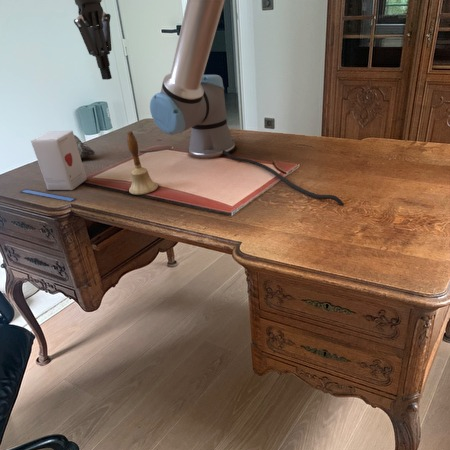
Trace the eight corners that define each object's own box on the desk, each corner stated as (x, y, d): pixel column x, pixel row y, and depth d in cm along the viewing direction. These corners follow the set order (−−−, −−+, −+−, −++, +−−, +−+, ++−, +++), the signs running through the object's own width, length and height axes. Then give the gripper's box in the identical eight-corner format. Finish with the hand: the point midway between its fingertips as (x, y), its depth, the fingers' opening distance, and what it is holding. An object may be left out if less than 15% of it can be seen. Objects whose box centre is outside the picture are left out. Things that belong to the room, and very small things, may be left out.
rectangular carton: (73, 190, 130) (56, 139, 122) (47, 190, 133) (29, 140, 124) (88, 179, 137) (73, 129, 128) (63, 179, 140) (47, 130, 131)
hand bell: (130, 197, 121) (116, 138, 112) (127, 186, 128) (113, 130, 119) (160, 191, 123) (148, 132, 113) (155, 181, 129) (144, 125, 120)
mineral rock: (98, 158, 154) (90, 128, 148) (71, 168, 148) (62, 137, 142) (78, 153, 161) (70, 124, 156) (52, 162, 155) (42, 133, 150)
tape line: (74, 199, 125) (74, 198, 125) (70, 201, 124) (70, 200, 124) (25, 190, 135) (25, 189, 135) (21, 192, 134) (21, 191, 134)
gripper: (92, -14, 130) (112, 74, 144) (58, -10, 122) (83, 83, 135) (110, -16, 127) (129, 74, 140) (77, -13, 118) (101, 83, 132)
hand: (107, 78), depth 138 cm, fingers closed
